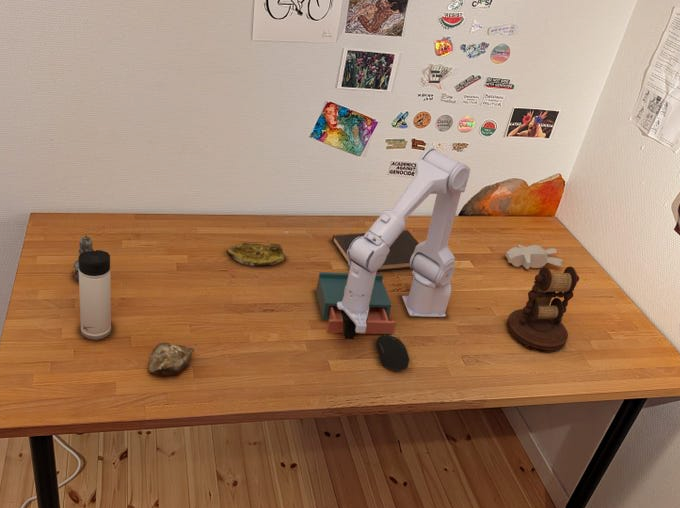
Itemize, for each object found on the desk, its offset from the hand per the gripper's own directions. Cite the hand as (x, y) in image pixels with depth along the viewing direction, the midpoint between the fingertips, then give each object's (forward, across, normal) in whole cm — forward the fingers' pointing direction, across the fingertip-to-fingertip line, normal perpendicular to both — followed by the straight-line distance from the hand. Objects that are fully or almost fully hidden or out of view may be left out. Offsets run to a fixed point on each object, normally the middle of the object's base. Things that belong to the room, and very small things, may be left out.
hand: (348, 337), depth 168 cm
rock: (+3, +7, -39) cm, 40 cm away
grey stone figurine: (+3, -24, -59) cm, 64 cm away
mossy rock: (+3, -36, -18) cm, 40 cm away
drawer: (+2, -9, +4) cm, 10 cm away
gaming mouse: (+3, +1, +10) cm, 11 cm away
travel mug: (+3, -4, -55) cm, 55 cm away
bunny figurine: (+3, -38, +61) cm, 72 cm away
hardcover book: (+3, -40, +17) cm, 43 cm away
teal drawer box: (+3, -15, +4) cm, 16 cm away
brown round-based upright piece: (+3, -6, +49) cm, 49 cm away
